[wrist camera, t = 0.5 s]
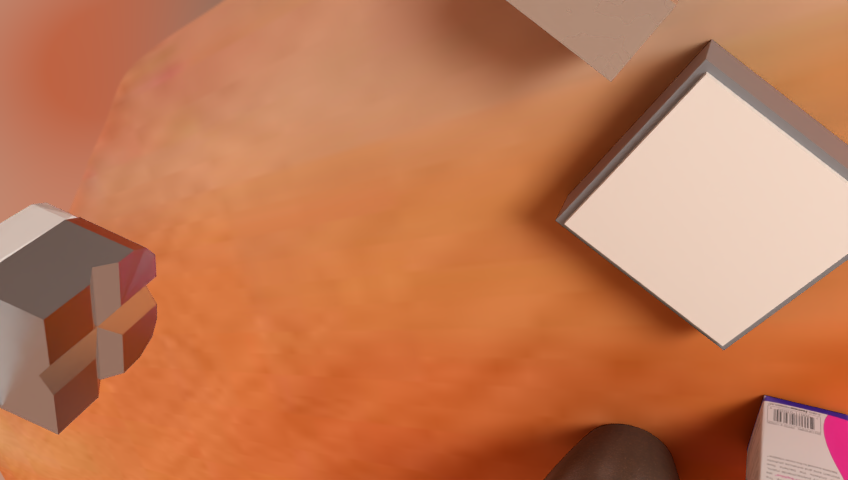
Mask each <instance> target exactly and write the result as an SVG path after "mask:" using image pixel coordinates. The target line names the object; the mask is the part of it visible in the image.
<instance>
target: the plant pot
mask: <svg viewBox="0 0 848 480" xmlns="http://www.w3.org/2000/svg"><path fill="white" fill-rule="evenodd" d="M544 480H680V479H679V476H678V473H677V469H676V467H675V464H674V461H673V458H672V455H671V453H670V452H669V450H668V449H667V447H666V446H665V445H664V444H663V443H662V442H661V441H660V440H659V439H658V438H656V437H655V436H653V435H652V434H650V433H649V432H647V431H645V430H642V429H640V428H637V427H633V426H629V425H623V424H609V425H604V426H601V427H598V428H596V429H594V430H593V431H591V432H590V433H589V434H588V435H586V436H585V437H584V438H583V439H582V440H581V441H580V442H579V443H578V444H577V445H576V446H574V447H573V448H572V449H571V450H570V451H569V452H568V453H567V454H566V455H565V457H564V458H563V459H562V460H561V461H560V462H559V463H558V464H557V465H556V466H555V467H554V468H553V470H552V471H551V472H550V473H549V474H548V475H547V477H546V478H545V479H544Z"/></svg>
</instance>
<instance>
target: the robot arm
mask: <svg viewBox="0 0 848 480" xmlns="http://www.w3.org/2000/svg"><path fill="white" fill-rule="evenodd" d="M155 277H156V262H155V254H154V253H152V252H151V251H150V250H148V249H147V248H145V247H143V246H141V245H139V244H137V243H135V242H132V241H130V240H128V239H126V238H124V237H122V236H119V235H117V234H115V233H113V232H111V231H109V230H106V229H104V228H102V227H100V226H98V225H96V224H93V223H91V222H89V221H87V220H85V219H83V218H80V217H76V216H74V215H72V214H70V213H68V212H65V211H63V210H61V209H59V208H57V207H55V206H53V205H50V204H48V203H41V204H32V205H30V206H28V207H27V208H25V209H23V210H22V211H20V212H19V213H17V214H15V215H13V216H12V217H10V218H8V219H7V220H5V221H3V222H2V223H0V408H2V409H4V410H6V411H8V412H11V413H13V414H15V415H17V416H19V417H21V418H24V419H26V420H28V421H30V422H32V423H34V424H37V425H39V426H41V427H43V428H45V429H47V430H50V431H52V432H54V433H56V434H59V433H60V432H61V431H63V430H64V429H65V428H66V427H67V426H68V425H69V424H70V423H71V422H72V421H73V420H74V419H75V418H76V417H78V416H79V415H80V414H81V413H82V412H83V411H84V410H85V409H86V408H87V407H88V406H89V405H90V404H91V403H92V402H94V401H95V400H96V399H97V398H98V396H99V388H100V380H101V379H105V378H108V377H111V376H115V375H118V374H122V373H124V372H125V371H126V370H127V369H128V368H129V367H130V366H131V365H132V364H133V363H134V362H135V361H136V360H137V359H138V358H139V357H140V356H141V354H142V353H143V351H144V349H145V348H146V346H147V344H148V343H149V341H150V339H151V338H152V335H153V331H154V328H155V324H156V320H157V304H156V302H155V300H154V298H153V297H152V295H151V293H150V291H149V290H148V288H147V286H146V285H147V284H148V283H149V282H150V281H151V280H152V279H154V278H155Z"/></svg>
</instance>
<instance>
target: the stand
mask: <svg viewBox="0 0 848 480" xmlns="http://www.w3.org/2000/svg"><path fill="white" fill-rule="evenodd" d="M555 221H557V222H558V223H559V224H560V225H562V226H563V227H564V228H566V229H567V230H568V231H570V232H571V233H572V234H573V235H575V236H576V237H577V238H579V239H580V240H581V241H583V242H584V243H585V244H586V245H588V246H589V247H590V248H592V249H593V250H594V251H596V252H597V253H598V254H599V255H601V256H602V257H603V258H605V259H606V260H607V261H608V262H610V263H611V264H612V265H614V266H615V267H616V268H618V269H619V270H620V271H621V272H623V273H624V274H625V275H627V276H628V277H629V278H631V279H632V280H633V281H634V282H636V283H637V284H638V285H640V286H641V287H642V288H644V289H645V290H646V291H647V292H649V293H650V294H651V295H653V296H654V297H655V298H657V299H658V300H659V301H660V302H662V303H663V304H664V305H666V306H667V307H668V308H670V309H671V310H672V311H673V312H675V313H676V314H677V315H679V316H680V317H681V318H682V319H684V320H685V321H686V322H688V323H689V324H690V325H692V326H693V327H694V328H695V329H697V330H698V331H699V332H701V333H702V334H703V335H705V336H706V337H707V338H708V339H710V340H711V341H712V342H714V343H715V344H716V345H718V346H719V347H720V348H721V349H723V350H725V349H726V348H728V347H729V346H730V345H732V344H733V343H734V342H736V341H737V340H739V339H740V338H741V337H743V336H744V335H745V334H747V333H748V332H749V331H751V330H752V329H754V328H755V327H756V326H758V325H759V324H760V323H762V322H763V321H764V320H766V319H767V318H769V317H770V316H771V315H773V314H774V313H775V312H777V311H778V310H779V309H781V308H782V307H784V306H785V305H786V304H788V303H789V302H790V301H792V300H793V299H794V298H796V297H797V296H799V295H800V294H801V293H803V292H804V291H805V290H807V289H808V288H809V287H811V286H812V285H814V284H815V283H816V282H818V281H819V280H820V279H822V278H823V277H824V276H826V275H827V274H829V273H830V272H831V271H833V270H834V269H835V268H837V267H838V266H839V265H841V264H842V263H844V262H845V261H846V260H848V145H847V144H846V143H844V142H843V141H842V140H841V139H839V138H838V137H837V136H835V135H834V134H833V133H831V132H830V131H829V130H828V129H826V128H825V127H824V126H822V125H821V124H820V123H819V122H817V121H816V120H815V119H813V118H812V117H811V116H810V115H808V114H807V113H806V112H804V111H803V110H802V109H801V108H799V107H798V106H797V105H795V104H794V103H793V102H792V101H790V100H789V99H788V98H786V97H785V96H784V95H783V94H781V93H780V92H779V91H777V90H776V89H775V88H774V87H772V86H771V85H770V84H768V83H767V82H766V81H765V80H763V79H762V78H761V77H759V76H758V75H757V74H756V73H754V72H753V71H752V70H750V69H749V68H748V67H747V66H745V65H744V64H743V63H741V62H740V61H739V60H738V59H736V58H735V57H734V56H732V55H731V54H730V53H729V52H727V51H726V50H725V49H723V48H722V47H721V46H720V45H718V44H717V43H716V42H714V41H713V40H711V41H710V42H709V43H708V44H707V45H706V46H705V47H704V48H703V49H702V50H701V52H700V53H699V54H698V55H697V56H696V57H695V58H694V59H693V60H692V61H691V62H690V64H689V65H688V66H687V67H686V68H685V69H684V70H683V71H682V72H681V73H680V74H679V75H678V77H677V78H676V79H675V80H674V81H673V82H672V83H671V84H670V85H669V86H668V87H667V89H666V90H665V91H664V92H663V93H662V94H661V95H660V96H659V97H658V98H657V99H656V101H655V102H654V103H653V104H652V105H651V106H650V107H649V108H648V109H647V110H646V111H645V112H644V114H643V115H642V116H641V117H640V118H639V119H638V120H637V121H636V122H635V123H634V124H633V126H632V127H631V128H630V129H629V130H628V131H627V132H626V133H625V134H624V135H623V136H622V138H621V139H620V140H619V141H618V142H617V143H616V144H615V145H614V146H613V147H612V148H611V150H610V151H609V152H608V153H607V154H606V155H605V156H604V157H603V158H602V159H601V160H600V161H599V163H598V164H597V165H596V166H595V167H594V168H593V169H592V170H591V171H590V172H589V173H588V175H587V176H586V177H585V178H584V179H583V180H582V181H581V182H580V183H579V184H578V185H577V187H576V188H575V189H574V190H573V191H572V192H571V193H570V194H569V195H568V197H567V199H566V201H565V203H564V205H563V207H562V209H561V211H560V213H559V214H558V216H557V218H556V220H555Z"/></svg>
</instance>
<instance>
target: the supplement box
mask: <svg viewBox="0 0 848 480" xmlns="http://www.w3.org/2000/svg"><path fill="white" fill-rule="evenodd" d="M746 480H848V415H845V414H842V413H837V412H833V411H829V410H825V409H820V408H817V407H812V406H808V405H803V404H799V403H795V402H791V401H787V400H782V399H778V398H774V397H770V396H766V395H764V397H763V400H762V403H761V406H760V410H759V413H758V416H757V419H756V422H755V425H754V428H753V431H752V435H751V438H750V441H749V444H748V447H747V463H746Z"/></svg>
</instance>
